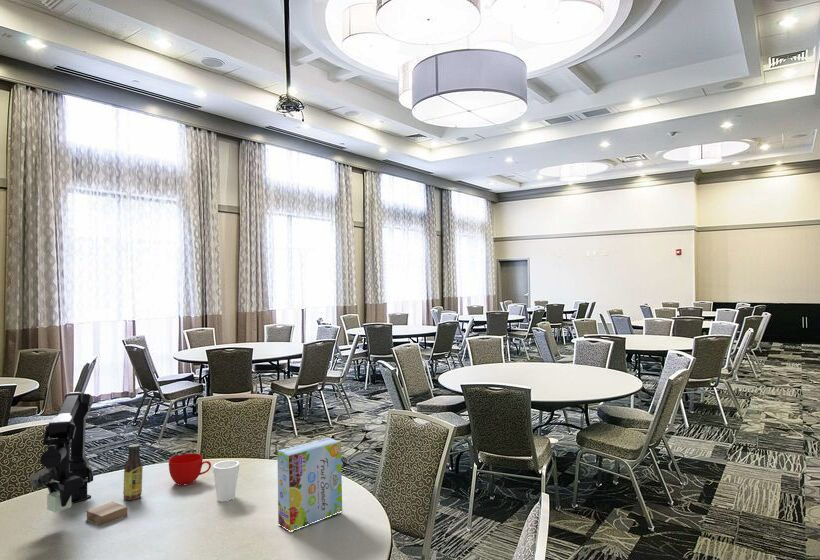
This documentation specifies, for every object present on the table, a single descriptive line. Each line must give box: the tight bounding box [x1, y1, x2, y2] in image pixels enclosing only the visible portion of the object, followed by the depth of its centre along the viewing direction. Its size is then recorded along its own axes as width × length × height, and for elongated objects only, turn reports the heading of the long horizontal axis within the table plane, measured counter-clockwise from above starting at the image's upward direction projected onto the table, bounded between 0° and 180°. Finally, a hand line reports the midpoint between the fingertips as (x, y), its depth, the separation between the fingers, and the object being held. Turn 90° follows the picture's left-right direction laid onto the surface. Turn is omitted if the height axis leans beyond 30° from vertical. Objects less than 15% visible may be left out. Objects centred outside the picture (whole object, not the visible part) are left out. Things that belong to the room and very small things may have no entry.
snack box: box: [277, 437, 343, 531], centre depth 178 cm, size 22×9×26 cm, turn 134°
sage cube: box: [46, 491, 72, 513], centre depth 172 cm, size 5×5×5 cm
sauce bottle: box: [122, 443, 144, 501], centre depth 197 cm, size 7×6×20 cm
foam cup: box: [212, 459, 240, 503], centre depth 196 cm, size 10×9×13 cm
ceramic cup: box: [168, 453, 212, 486], centre depth 212 cm, size 13×17×10 cm
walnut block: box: [86, 501, 128, 527], centre depth 179 cm, size 9×9×4 cm
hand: (59, 504), depth 172 cm, fingers closed on sage cube, 5 cm apart
